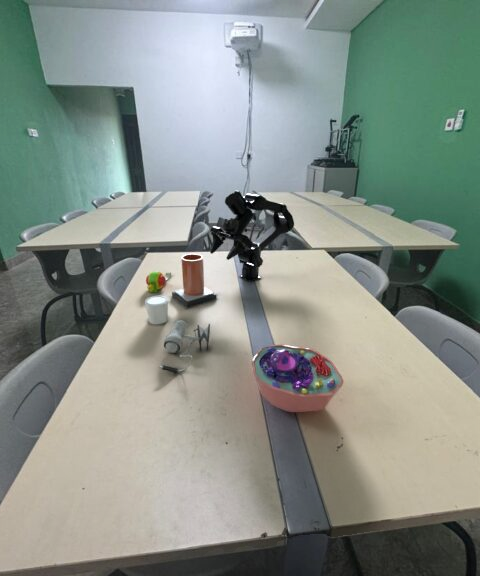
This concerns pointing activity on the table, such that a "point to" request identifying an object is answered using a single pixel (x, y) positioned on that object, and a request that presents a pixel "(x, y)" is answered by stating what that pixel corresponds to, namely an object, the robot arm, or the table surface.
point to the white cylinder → (157, 309)
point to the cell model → (295, 378)
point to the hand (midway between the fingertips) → (218, 256)
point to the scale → (193, 297)
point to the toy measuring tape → (156, 280)
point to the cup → (193, 274)
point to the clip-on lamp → (175, 341)
